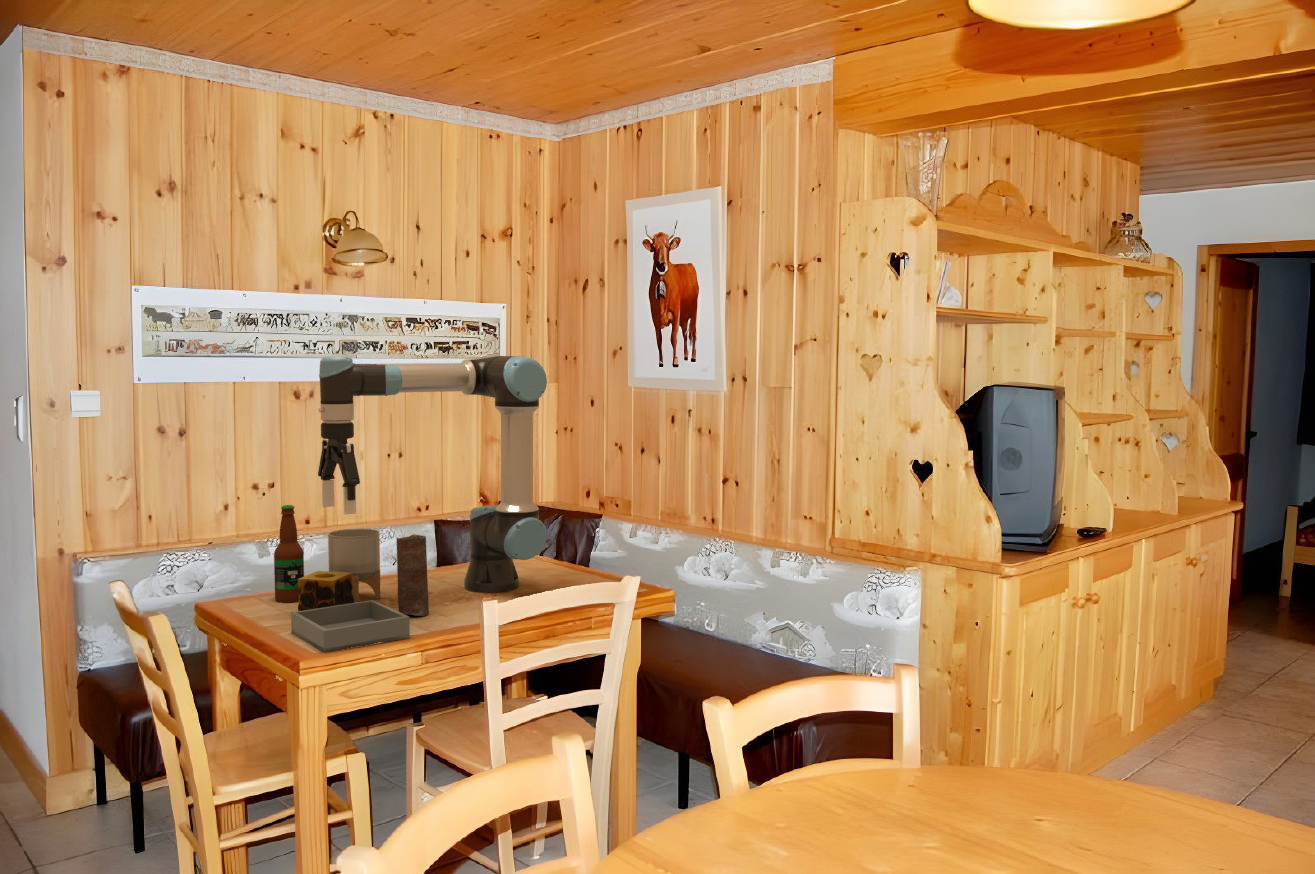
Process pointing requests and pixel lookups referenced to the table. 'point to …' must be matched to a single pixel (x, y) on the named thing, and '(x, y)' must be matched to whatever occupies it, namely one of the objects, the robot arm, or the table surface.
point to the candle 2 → (412, 575)
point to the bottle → (288, 559)
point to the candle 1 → (325, 590)
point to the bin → (350, 625)
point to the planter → (356, 557)
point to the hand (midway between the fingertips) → (339, 510)
